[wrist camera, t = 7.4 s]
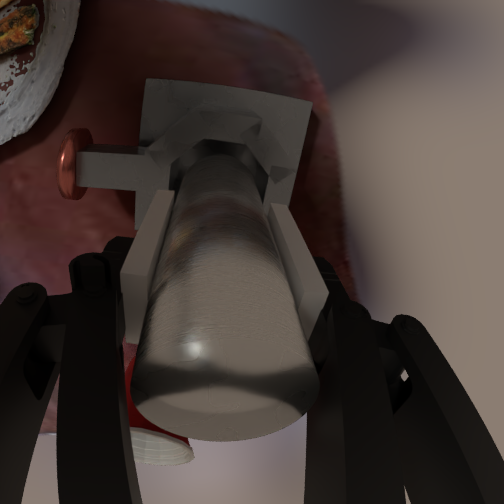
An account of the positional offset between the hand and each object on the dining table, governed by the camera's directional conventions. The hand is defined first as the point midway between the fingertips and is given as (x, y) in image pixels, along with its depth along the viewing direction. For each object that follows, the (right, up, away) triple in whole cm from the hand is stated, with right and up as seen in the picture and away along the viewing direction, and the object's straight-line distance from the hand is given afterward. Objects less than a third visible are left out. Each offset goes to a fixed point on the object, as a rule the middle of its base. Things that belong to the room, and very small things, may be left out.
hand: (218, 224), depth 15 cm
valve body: (-3, +6, +10) cm, 12 cm away
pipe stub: (0, +2, +4) cm, 5 cm away
